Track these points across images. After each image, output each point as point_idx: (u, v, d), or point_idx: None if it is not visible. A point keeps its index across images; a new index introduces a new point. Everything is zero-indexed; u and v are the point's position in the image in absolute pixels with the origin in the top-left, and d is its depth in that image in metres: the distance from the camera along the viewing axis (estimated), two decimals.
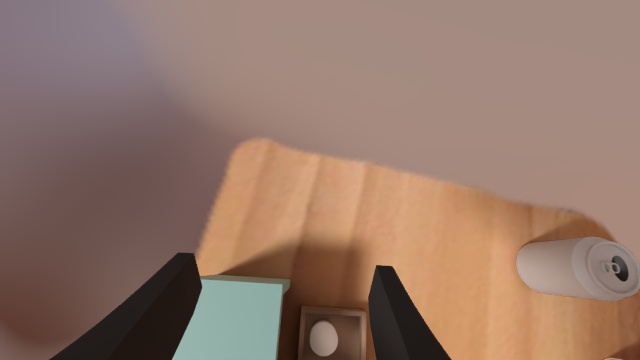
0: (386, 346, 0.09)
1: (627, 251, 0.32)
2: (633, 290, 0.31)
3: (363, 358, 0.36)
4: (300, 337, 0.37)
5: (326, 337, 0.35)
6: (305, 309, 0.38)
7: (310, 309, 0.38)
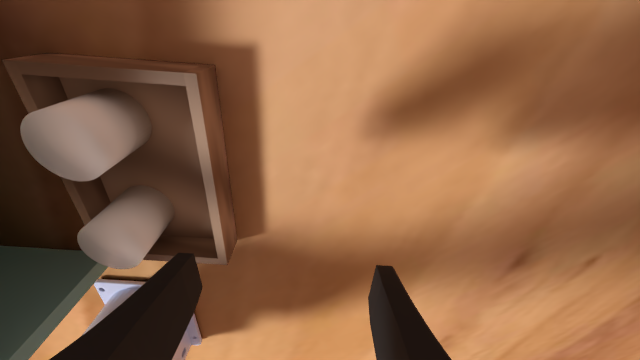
0: (386, 346, 0.09)
1: None
2: None
3: (207, 176, 0.16)
4: None
5: (68, 143, 0.13)
6: (15, 64, 0.13)
7: (30, 65, 0.13)
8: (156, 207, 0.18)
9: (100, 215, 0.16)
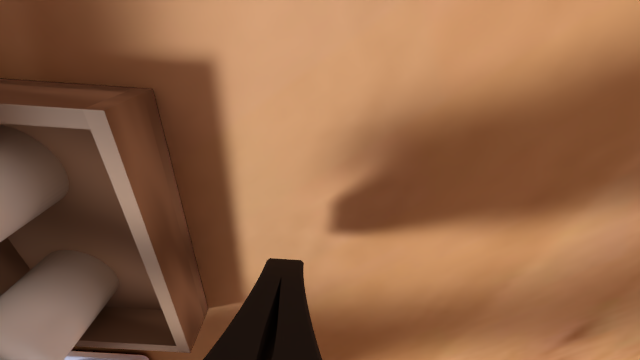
0: None
1: None
2: None
3: (146, 253, 0.11)
4: None
5: None
6: None
7: None
8: (85, 284, 0.13)
9: None
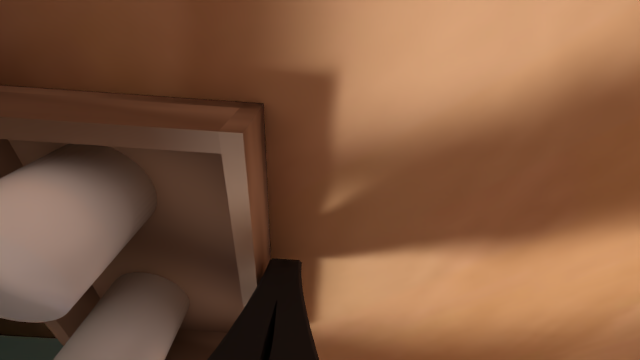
0: None
1: None
2: None
3: (247, 283, 0.10)
4: None
5: None
6: None
7: None
8: (164, 310, 0.12)
9: (74, 345, 0.10)
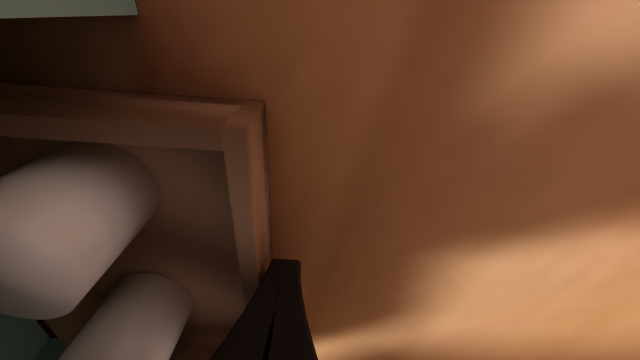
0: None
1: None
2: None
3: (248, 281, 0.10)
4: None
5: (3, 268, 0.06)
6: None
7: None
8: (168, 311, 0.12)
9: (79, 345, 0.10)
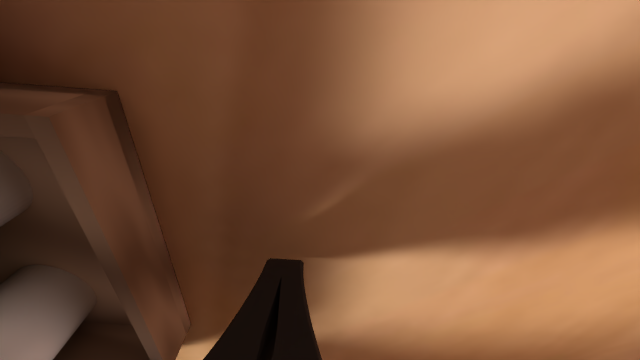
0: None
1: None
2: None
3: (112, 272, 0.10)
4: None
5: None
6: None
7: None
8: (56, 302, 0.12)
9: None
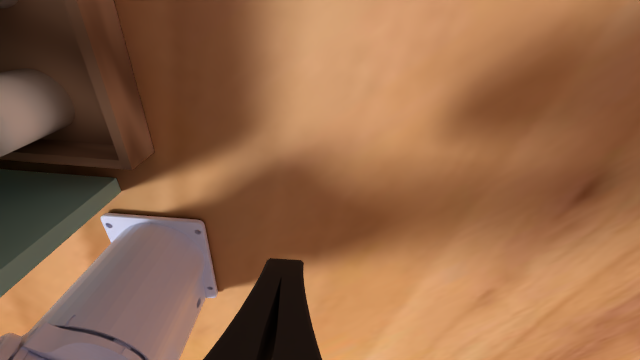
0: None
1: None
2: None
3: (80, 33, 0.13)
4: None
5: None
6: None
7: None
8: (39, 88, 0.15)
9: None
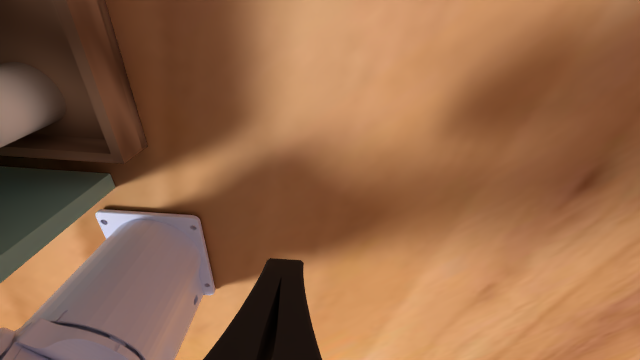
0: None
1: None
2: None
3: (66, 22, 0.13)
4: None
5: None
6: None
7: None
8: (26, 80, 0.15)
9: None
